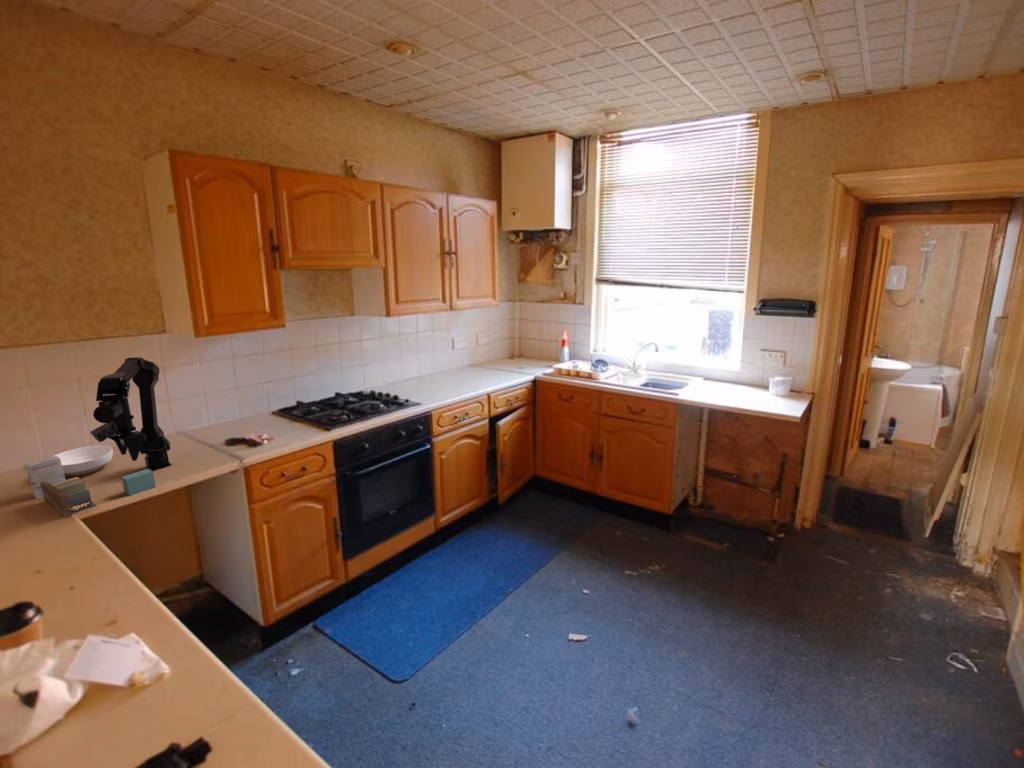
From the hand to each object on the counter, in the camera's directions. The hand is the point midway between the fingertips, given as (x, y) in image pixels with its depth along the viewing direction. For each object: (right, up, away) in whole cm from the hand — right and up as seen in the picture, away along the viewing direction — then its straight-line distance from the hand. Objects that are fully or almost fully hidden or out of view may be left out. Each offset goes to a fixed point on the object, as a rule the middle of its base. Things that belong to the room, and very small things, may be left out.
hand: (129, 457), depth 181 cm
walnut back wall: (-16, -15, -9) cm, 24 cm away
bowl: (-32, -8, +20) cm, 39 cm away
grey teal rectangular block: (+1, -12, +3) cm, 12 cm away
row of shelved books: (-18, -13, -2) cm, 23 cm away
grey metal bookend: (-9, -15, -9) cm, 20 cm away
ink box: (-29, -13, +2) cm, 31 cm away
